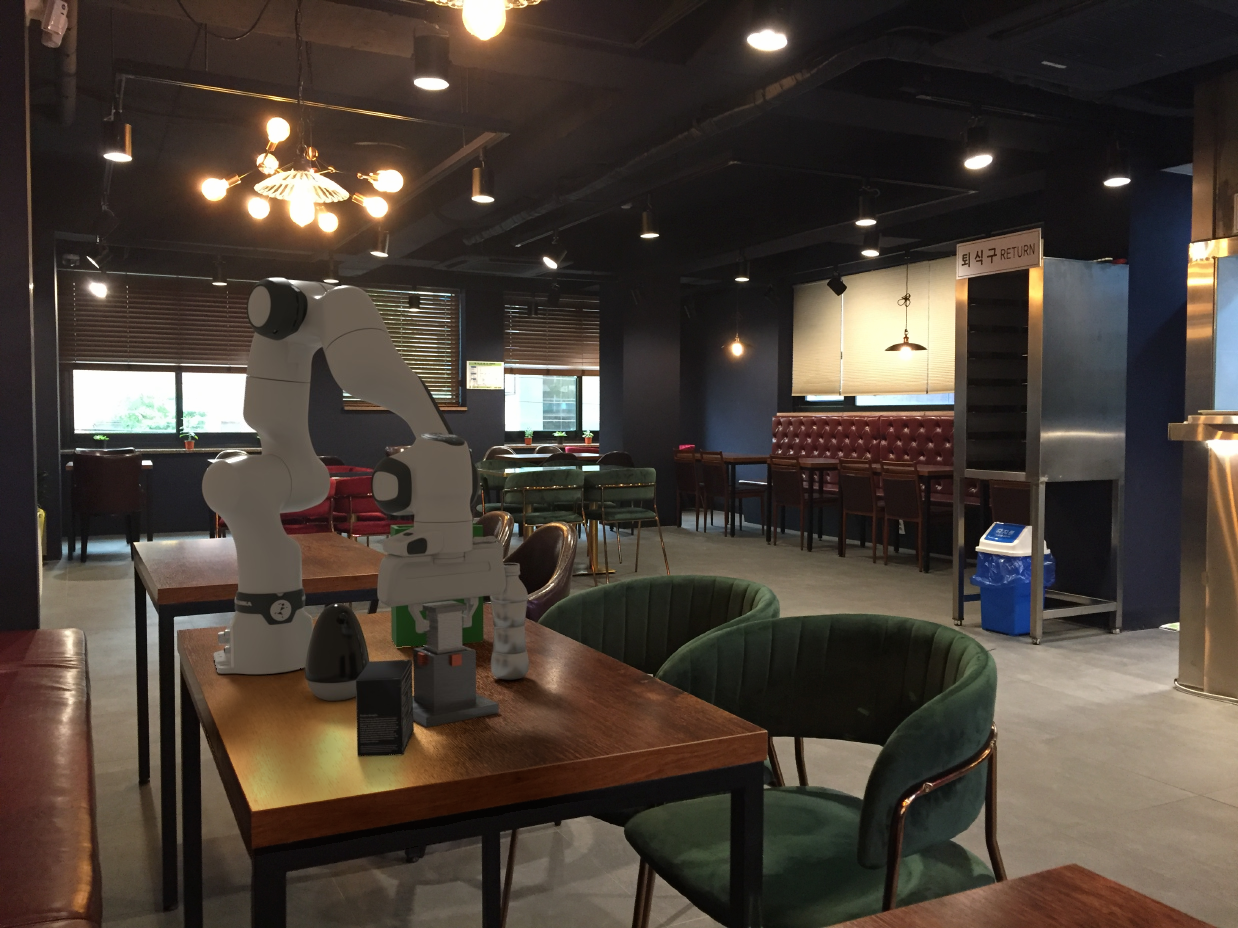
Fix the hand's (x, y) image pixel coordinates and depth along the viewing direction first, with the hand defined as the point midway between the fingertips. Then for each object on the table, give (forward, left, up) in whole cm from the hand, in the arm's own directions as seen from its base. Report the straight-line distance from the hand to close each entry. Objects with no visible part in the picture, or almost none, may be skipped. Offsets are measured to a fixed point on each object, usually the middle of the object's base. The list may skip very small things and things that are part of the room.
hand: (444, 629), depth 147 cm
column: (0, 0, -11) cm, 11 cm away
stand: (0, 0, -13) cm, 13 cm away
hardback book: (-47, +22, -13) cm, 53 cm away
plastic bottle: (-11, +18, -13) cm, 25 cm away
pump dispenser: (-18, -10, -13) cm, 24 cm away
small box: (+9, -14, -13) cm, 21 cm away
